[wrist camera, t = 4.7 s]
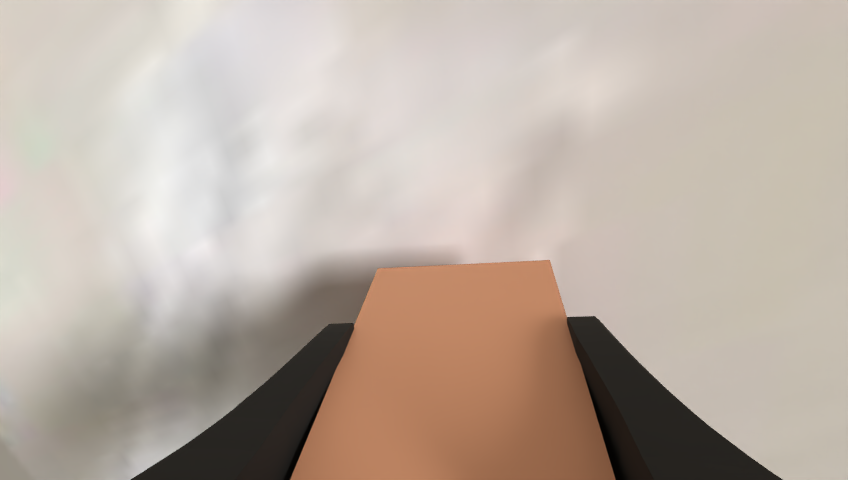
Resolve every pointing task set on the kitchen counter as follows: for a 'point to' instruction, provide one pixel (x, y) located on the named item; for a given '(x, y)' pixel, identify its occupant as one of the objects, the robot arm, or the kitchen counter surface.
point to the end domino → (458, 383)
